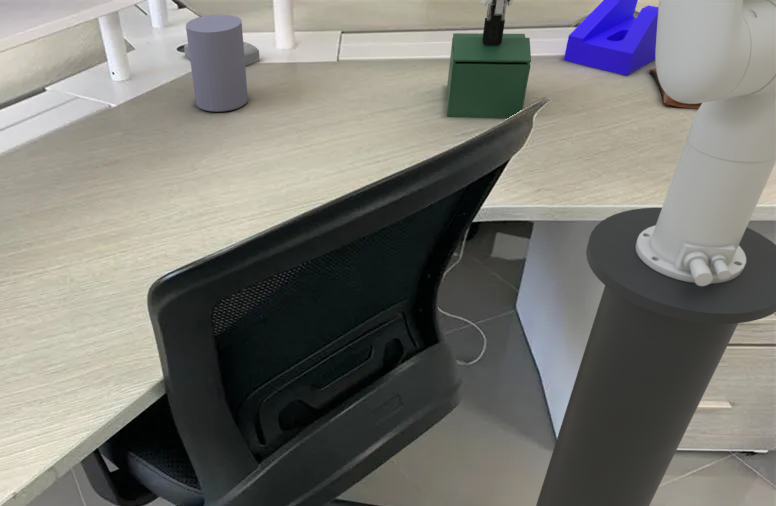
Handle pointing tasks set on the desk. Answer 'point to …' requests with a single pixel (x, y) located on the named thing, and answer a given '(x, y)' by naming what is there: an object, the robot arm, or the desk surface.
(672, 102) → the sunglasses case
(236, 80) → the container
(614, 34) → the bracket
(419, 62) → the desk surface
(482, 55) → the flap
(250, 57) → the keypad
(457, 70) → the carton
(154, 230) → the desk surface
